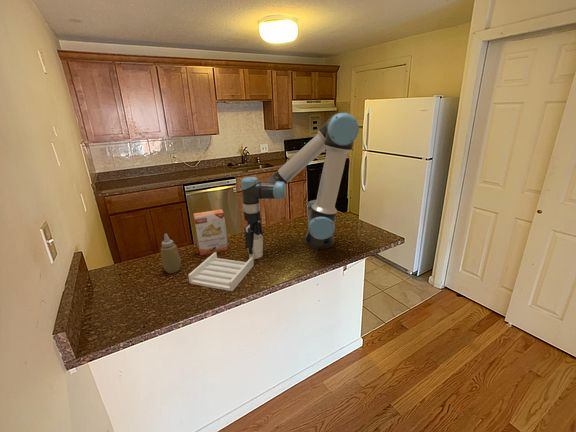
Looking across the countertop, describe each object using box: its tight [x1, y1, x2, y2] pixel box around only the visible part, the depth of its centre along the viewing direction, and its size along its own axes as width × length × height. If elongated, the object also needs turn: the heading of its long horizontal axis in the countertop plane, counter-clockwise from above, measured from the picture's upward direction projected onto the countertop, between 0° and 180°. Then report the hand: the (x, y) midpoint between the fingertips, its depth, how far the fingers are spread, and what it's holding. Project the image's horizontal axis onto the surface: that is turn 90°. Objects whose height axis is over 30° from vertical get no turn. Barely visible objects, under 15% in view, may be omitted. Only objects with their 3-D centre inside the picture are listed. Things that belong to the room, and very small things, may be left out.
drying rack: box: [187, 252, 255, 292], centre depth 121 cm, size 20×20×4 cm
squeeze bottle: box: [160, 233, 182, 274], centre depth 123 cm, size 8×8×18 cm
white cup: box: [247, 233, 264, 260], centre depth 134 cm, size 8×8×10 cm
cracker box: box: [193, 208, 229, 256], centre depth 139 cm, size 14×6×21 cm, turn 111°
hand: (255, 254), depth 136 cm, fingers open, 8 cm apart
